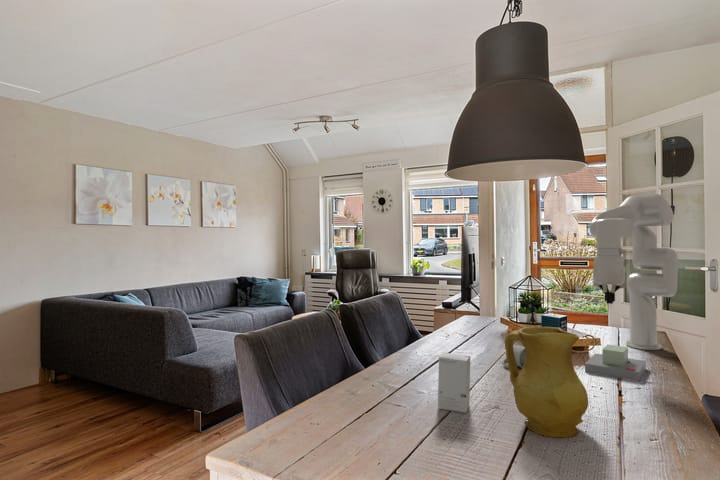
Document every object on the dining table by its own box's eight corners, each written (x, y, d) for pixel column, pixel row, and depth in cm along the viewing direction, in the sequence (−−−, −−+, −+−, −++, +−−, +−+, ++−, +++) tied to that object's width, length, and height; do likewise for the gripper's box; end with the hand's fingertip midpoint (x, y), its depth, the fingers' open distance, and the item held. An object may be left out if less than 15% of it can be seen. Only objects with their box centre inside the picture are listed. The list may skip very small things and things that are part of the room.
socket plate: (595, 361, 160) (595, 351, 160) (645, 369, 150) (645, 359, 150) (585, 371, 148) (584, 361, 148) (638, 381, 138) (638, 370, 138)
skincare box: (437, 409, 119) (436, 357, 119) (442, 401, 124) (441, 351, 124) (467, 413, 116) (466, 360, 115) (471, 405, 121) (470, 354, 121)
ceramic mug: (520, 361, 162) (519, 341, 162) (536, 367, 154) (535, 346, 154) (497, 365, 158) (497, 345, 158) (513, 372, 150) (512, 350, 150)
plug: (607, 365, 154) (607, 344, 154) (628, 368, 150) (628, 347, 150) (602, 371, 148) (602, 349, 148) (624, 374, 144) (623, 352, 144)
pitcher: (546, 446, 96) (543, 336, 97) (498, 418, 114) (496, 325, 115) (606, 437, 101) (602, 332, 102) (550, 411, 119) (548, 322, 120)
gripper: (634, 252, 150) (635, 303, 150) (588, 252, 159) (589, 300, 160) (631, 253, 144) (632, 306, 144) (583, 253, 154) (584, 303, 154)
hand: (609, 303), depth 152 cm, fingers closed
